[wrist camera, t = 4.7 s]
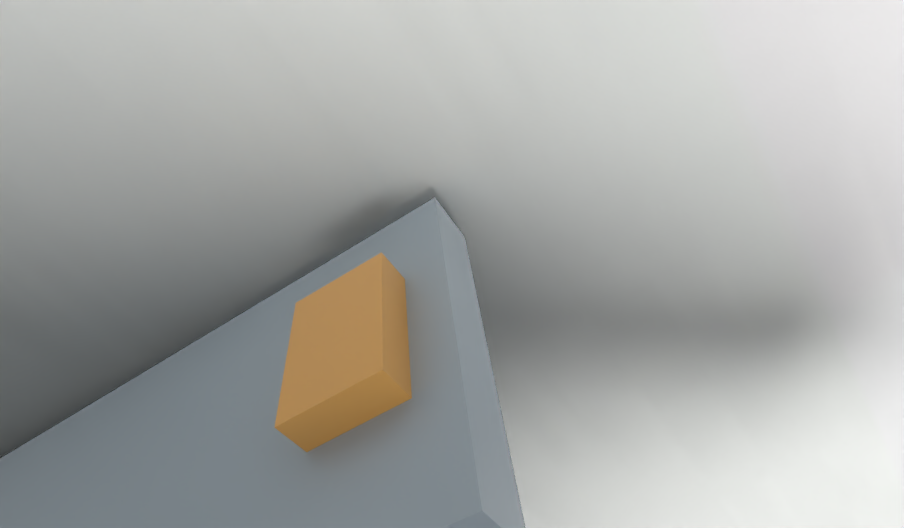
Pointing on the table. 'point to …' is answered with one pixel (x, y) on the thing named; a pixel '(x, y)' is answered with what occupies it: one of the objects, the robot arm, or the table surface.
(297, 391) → the side door
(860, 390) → the table surface
